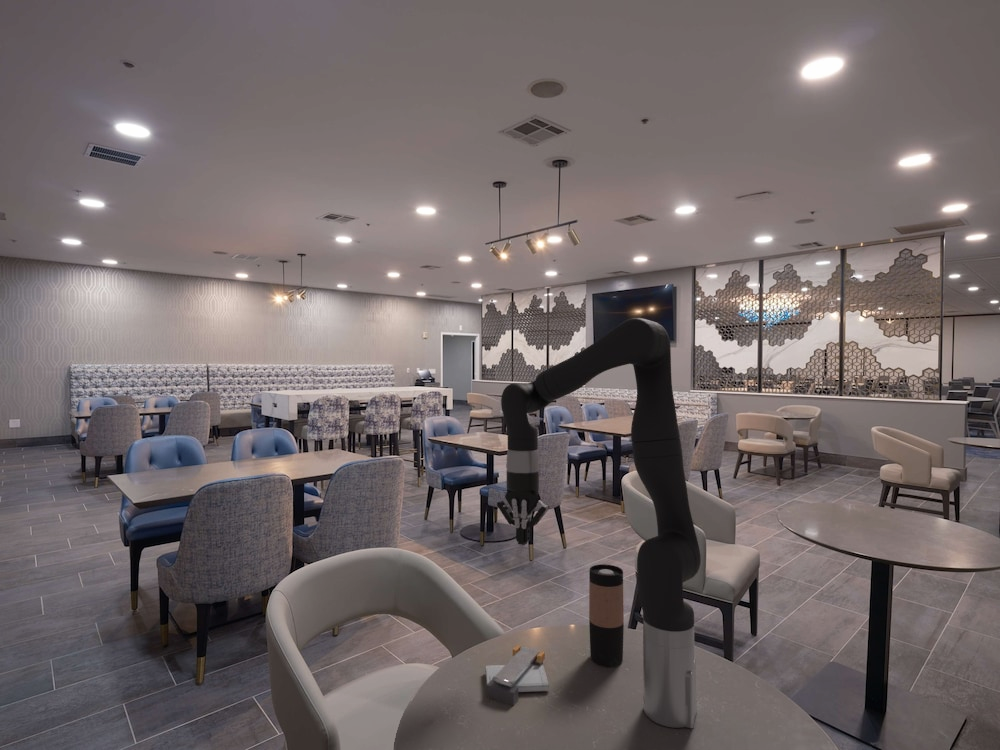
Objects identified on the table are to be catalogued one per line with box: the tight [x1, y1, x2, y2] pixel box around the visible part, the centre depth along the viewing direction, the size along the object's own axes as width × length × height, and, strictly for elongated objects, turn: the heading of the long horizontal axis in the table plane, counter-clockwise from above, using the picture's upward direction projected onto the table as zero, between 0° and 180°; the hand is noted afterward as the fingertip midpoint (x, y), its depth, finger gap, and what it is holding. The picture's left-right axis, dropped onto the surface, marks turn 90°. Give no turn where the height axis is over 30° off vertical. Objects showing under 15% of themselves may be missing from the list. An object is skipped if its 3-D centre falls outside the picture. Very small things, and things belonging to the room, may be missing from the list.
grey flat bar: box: [492, 646, 541, 687], centre depth 111 cm, size 4×15×2 cm, turn 153°
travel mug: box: [588, 563, 625, 668], centre depth 120 cm, size 8×8×20 cm
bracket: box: [486, 644, 546, 707], centre depth 110 cm, size 7×15×4 cm, turn 153°
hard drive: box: [484, 663, 550, 693], centre depth 110 cm, size 2×8×12 cm
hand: (522, 543), depth 123 cm, fingers closed
